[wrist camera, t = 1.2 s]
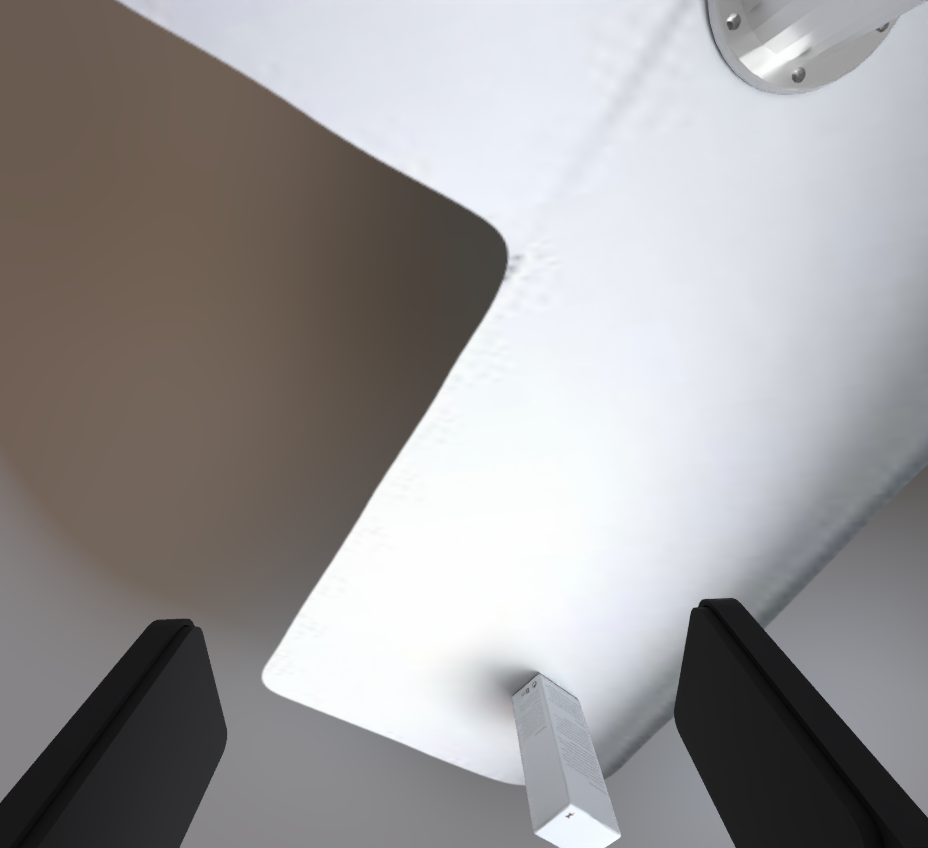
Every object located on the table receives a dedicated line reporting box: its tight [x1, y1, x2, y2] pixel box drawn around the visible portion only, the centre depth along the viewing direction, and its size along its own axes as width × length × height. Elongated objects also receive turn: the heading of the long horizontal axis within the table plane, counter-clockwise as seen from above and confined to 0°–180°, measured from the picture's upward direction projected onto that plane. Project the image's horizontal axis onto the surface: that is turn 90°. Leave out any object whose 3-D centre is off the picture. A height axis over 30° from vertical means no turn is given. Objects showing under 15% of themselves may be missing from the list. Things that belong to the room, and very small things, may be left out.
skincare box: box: [512, 674, 621, 848], centre depth 41 cm, size 6×4×12 cm
